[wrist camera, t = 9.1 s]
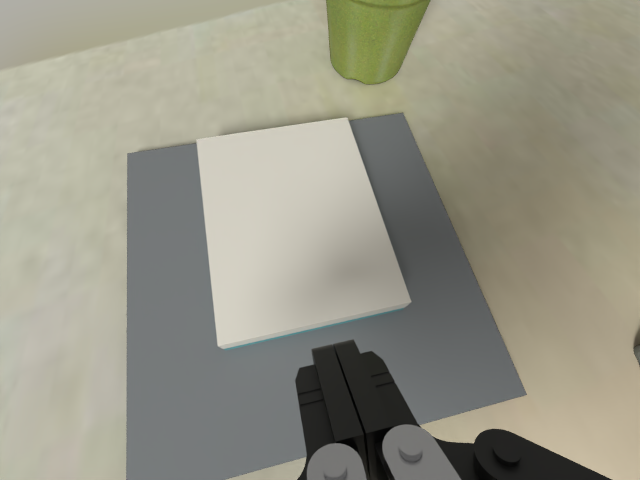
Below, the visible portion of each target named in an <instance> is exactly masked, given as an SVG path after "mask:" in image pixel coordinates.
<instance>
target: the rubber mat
mask: <svg viewBox="0 0 640 480" xmlns="http://www.w3.org/2000/svg"><path fill="white" fill-rule="evenodd" d="M349 124H350V127H351V130H352V132H353V135H354V138H355V141H356V144H357V147H358V150H359V153H360V155H361V158H362V161H363V164H364V167H365V170H366V173H367V176H368V178H369V181H370V184H371V187H372V190H373V193H374V196H375V199H376V201H377V204H378V207H379V210H380V213H381V216H382V219H383V222H384V224H385V227H386V230H387V233H388V236H389V239H390V242H391V245H392V247H393V250H394V253H395V256H396V259H397V262H398V265H399V268H400V270H401V273H402V276H403V279H404V282H405V285H406V288H407V291H408V293H409V296H410V299H411V303H410V304H409V305H407V306H406V307H405V308H404V309H403V310H399V311H395V312H391V313H386V314H382V315H377V316H373V317H369V318H364V319H360V320H356V321H351V322H347V323H343V324H338V325H334V326H330V327H325V328H321V329H317V330H312V331H308V332H304V333H299V334H295V335H291V336H286V337H282V338H278V339H273V340H269V341H265V342H260V343H256V344H252V345H247V346H243V347H239V348H234V349H230V350H224V349H222V348H220V347H218V345H217V335H216V325H215V315H214V306H213V296H212V286H211V277H210V267H209V257H208V247H207V238H206V228H205V218H204V209H203V199H202V189H201V180H200V170H199V160H198V150H197V143H195V144H189V145H182V146H175V147H168V148H161V149H155V150H148V151H141V152H134V153H128V154H127V463H126V480H225V479H229V478H232V477H236V476H239V475H243V474H247V473H250V472H254V471H257V470H261V469H264V468H268V467H271V466H275V465H279V464H282V463H286V462H289V461H293V460H296V459H300V458H304V457H307V454H306V446H305V440H304V433H303V427H302V421H301V415H300V408H299V402H298V396H297V390H296V384H295V379H296V376H297V373H298V370H299V368H301V367H305V366H309V365H314V364H313V357H312V351H311V349H313V348H317V347H321V346H326V345H330V344H332V346H333V344H334V343H339V342H343V341H347V340H352V339H353V340H354V341H355V343H356V345H357V347H358V349H359V352H360V353H364V352H369V351H373V352H374V353H375V354H377V355H378V356H379V357H380V358H382V359H383V360H384V362H385V364H386V366H387V368H388V370H389V372H390V374H391V375H392V377H393V379H394V381H395V384H397V386H398V388H399V390H400V392H401V394H402V395H403V397H404V399H405V401H406V403H407V405H408V407H409V408H410V410H411V412H412V414H413V416H414V418H415V419H416V421H417V423H418V424H419V425H421V424H425V423H428V422H432V421H435V420H439V419H442V418H446V417H450V416H453V415H457V414H460V413H464V412H467V411H471V410H474V409H478V408H482V407H485V406H489V405H492V404H496V403H499V402H503V401H506V400H510V399H514V398H517V397H521V396H524V395H527V394H526V392H525V389H524V387H523V385H522V383H521V380H520V378H519V376H518V373H517V371H516V369H515V367H514V364H513V362H512V360H511V358H510V355H509V353H508V351H507V348H506V346H505V344H504V342H503V339H502V337H501V335H500V333H499V330H498V328H497V326H496V323H495V321H494V319H493V317H492V314H491V312H490V310H489V308H488V305H487V303H486V301H485V298H484V296H483V294H482V292H481V289H480V287H479V285H478V283H477V280H476V278H475V276H474V273H473V271H472V269H471V267H470V264H469V262H468V260H467V258H466V255H465V253H464V251H463V248H462V246H461V244H460V242H459V239H458V237H457V235H456V233H455V230H454V228H453V226H452V223H451V221H450V219H449V217H448V214H447V212H446V210H445V208H444V205H443V203H442V201H441V198H440V196H439V194H438V192H437V189H436V187H435V185H434V182H433V180H432V178H431V176H430V173H429V171H428V169H427V167H426V164H425V162H424V160H423V157H422V155H421V153H420V151H419V148H418V146H417V144H416V142H415V139H414V137H413V135H412V132H411V130H410V128H409V126H408V123H407V121H406V119H405V117H404V114H403V113H399V114H392V115H385V116H378V117H372V118H365V119H358V120H351V121H349Z"/></svg>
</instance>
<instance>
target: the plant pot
mask: <svg viewBox="0 0 640 480" xmlns="http://www.w3.org/2000/svg"><path fill="white" fill-rule="evenodd" d="M429 2H430V0H326V3H327V16H328V30H329V45H330V59H331V63H332V65H333V67H334V69H335V70H336V71H337V72H338V73H339V74H340V75H341V76H343V77H344V78H346V79H356V80H359V81H361V82H362V83H364V84H376V83H381V82H384V81H387V80H389V79H391V78H392V77H394V76H395V75H396V74H397V72H398V71H399V69H400V67H401V65H402V63H403V60H404V58H405V56H406V54H407V51H408V49H409V47H410V44H411V42H412V40H413V38H414V36H415V33H416V31H417V29H418V27H419V24H420V22H421V20H422V18H423V16H424V13H425V11H426V9H427V7H428V5H429Z"/></svg>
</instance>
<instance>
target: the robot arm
mask: <svg viewBox="0 0 640 480" xmlns="http://www.w3.org/2000/svg"><path fill="white" fill-rule="evenodd" d="M311 351H312V357H313V364H314V365H309V366H305V367H301V368H299V370H298V373H297V376H296V379H295V384H296V390H297V396H298V402H299V408H300V415H301V421H302V427H303V433H304V440H305V446H306V454H307V457H306V464H305V467H304V470H303V472H302V474H301V475H300V477H299V478H298V480H612V479H609V478H607V477H605V476H603V475H601V474H599V473H597V472H595V471H592V470H590V469H588V468H586V467H584V466H582V465H580V464H578V463H575V462H573V461H571V460H569V459H567V458H565V457H563V456H561V455H558V454H556V453H554V452H552V451H550V450H548V449H546V448H544V447H541V446H539V445H537V444H535V443H533V442H531V441H529V440H526V439H524V438H522V437H520V436H518V435H516V434H514V433H511V432H509V431H505V430H501V429H489V430H486V431H483V432H482V433H480V434H479V435H478V436H477V438H476V439H475V443H474V444H472V443H456V442H446V441H442V440H439V439H437V438H434V437H433V436H432V435H430V434H429V433H428V432H427V431H426V430H424V429H422V428H421V427H420V426H419V424H418V423H417V421H416V419H415V418H414V416H413V414H412V412H411V410H410V408H409V407H408V405H407V403H406V401H405V399H404V397H403V395H402V394H401V392H400V390H399V388H398V386H397V384H395V381H394V379H393V377H392V375H391V374H390V372H389V370H388V368H387V366H386V364H385V362H384V360H383V359H382V358H380V357H379V356H378V355H377V354H375V353H374V352H373V351H369V352H364V353H360V352H359V349H358V347H357V345H356V343H355V341H354V340H353V339H352V340H347V341H343V342H339V343H334V344H333V346H332V344H330V345H326V346H321V347H317V348H313V349H311Z"/></svg>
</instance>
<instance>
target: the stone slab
mask: <svg viewBox="0 0 640 480" xmlns="http://www.w3.org/2000/svg"><path fill="white" fill-rule="evenodd" d="M634 354H635V356H636V358H637V360H638V362H639V365H640V344H639V345H637V346H635V347H634Z"/></svg>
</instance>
